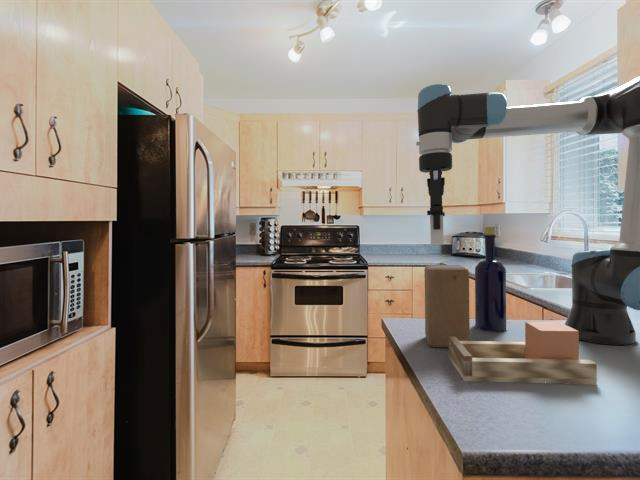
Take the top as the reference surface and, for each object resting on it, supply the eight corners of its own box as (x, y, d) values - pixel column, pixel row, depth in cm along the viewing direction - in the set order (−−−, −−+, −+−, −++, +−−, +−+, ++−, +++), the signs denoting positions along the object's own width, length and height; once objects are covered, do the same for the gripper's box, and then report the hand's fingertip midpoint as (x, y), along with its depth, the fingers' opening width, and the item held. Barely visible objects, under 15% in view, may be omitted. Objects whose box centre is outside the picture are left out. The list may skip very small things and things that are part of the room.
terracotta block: (559, 358, 79) (559, 322, 79) (578, 371, 72) (578, 331, 72) (525, 358, 80) (525, 321, 80) (540, 370, 73) (540, 330, 73)
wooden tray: (559, 359, 82) (559, 337, 82) (596, 384, 69) (596, 358, 69) (448, 357, 85) (448, 336, 84) (464, 381, 72) (464, 356, 72)
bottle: (514, 331, 104) (513, 226, 103) (481, 332, 104) (480, 227, 103) (498, 323, 113) (498, 226, 112) (468, 323, 114) (467, 227, 113)
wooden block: (470, 349, 90) (469, 268, 89) (428, 347, 92) (427, 268, 91) (463, 337, 100) (462, 264, 99) (425, 336, 102) (424, 264, 101)
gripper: (421, 163, 100) (423, 241, 101) (415, 144, 76) (418, 246, 77) (450, 161, 98) (452, 240, 98) (454, 140, 74) (456, 245, 75)
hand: (437, 243), depth 88 cm, fingers open, 13 cm apart
